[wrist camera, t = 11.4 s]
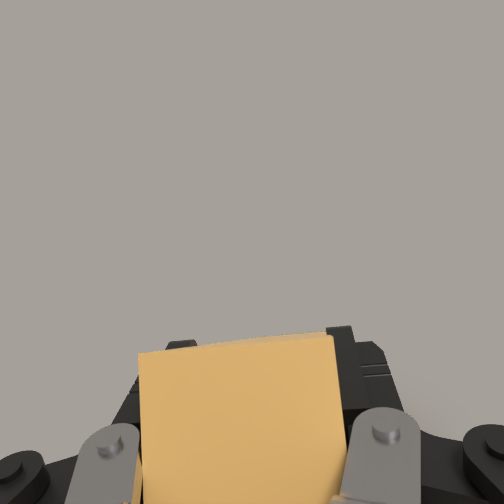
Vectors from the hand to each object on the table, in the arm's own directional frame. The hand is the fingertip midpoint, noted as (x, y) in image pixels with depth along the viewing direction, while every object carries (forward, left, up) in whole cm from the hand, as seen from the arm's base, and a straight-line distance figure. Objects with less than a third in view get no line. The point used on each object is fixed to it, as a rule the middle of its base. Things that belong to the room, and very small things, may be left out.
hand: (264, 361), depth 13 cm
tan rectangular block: (0, +7, -3) cm, 8 cm away
